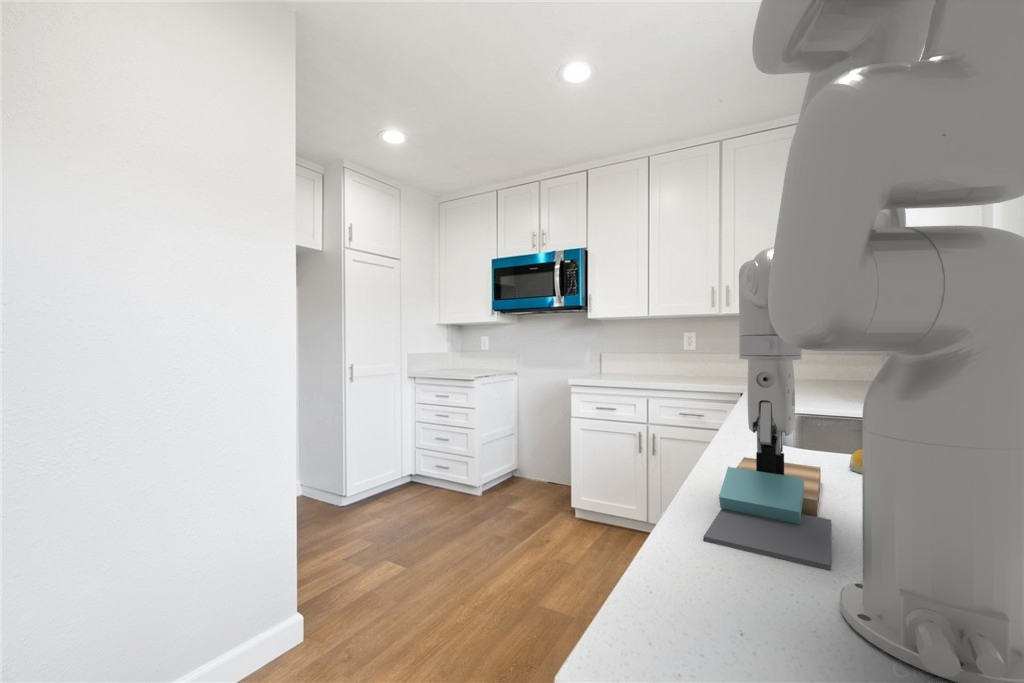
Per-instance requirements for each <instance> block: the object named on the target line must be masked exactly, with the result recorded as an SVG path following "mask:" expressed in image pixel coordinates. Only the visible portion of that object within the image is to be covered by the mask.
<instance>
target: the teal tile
mask: <svg viewBox="0 0 1024 683" xmlns="http://www.w3.org/2000/svg"><path fill="white" fill-rule="evenodd" d="M725 472H726V473H725V476H724V479H723V483H722V484H721V485H722V486H721V488H720V492H719V495H718V499H719V500H718V501H719V507H720V509H727V510H732V511H737V512H742V513H747V514H752V515H757V516H761V517H766V518H771V519H776V520H781V521H786V522H791V523H796V524H800V520H801V512H802V504H803V496H804V478H800V477H793V476H786V475H780V474H773V473H766V472H759V471H753V470H746V469H739V468H736V467H733V466H732V467H731V466H727V469H726V471H725Z"/></svg>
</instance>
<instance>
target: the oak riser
mask: <svg viewBox="0 0 1024 683" xmlns="http://www.w3.org/2000/svg"><path fill="white" fill-rule="evenodd" d="M735 468H739V469H746V470H753V471H756V458H752V457H743V458H742V459H741V461H739V464H738V465H737V466H736V467H735ZM821 474H822V473H821V466H815V465H807V464H797V463H791V462H786V461H784V475H786V476H793V477H800V478H804V496H803V504H802V512H801V514H803V515H809V516H815V517H818V515H819V514H818V513H819V503H820V502H819V501H820V490H821V483H822V482H821V481H822V480H821V477H822V476H821Z"/></svg>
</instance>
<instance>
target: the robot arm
mask: <svg viewBox="0 0 1024 683" xmlns="http://www.w3.org/2000/svg"><path fill="white" fill-rule="evenodd" d="M751 49H752V58H753V62H754V65H755V67H756V68H757V69H758V71H760V72H761V73H763V74H766V75H790V74H806V73H809V75H808V78H807V79H808V80H807V84H806V89H805V92H804V95H803V100H802V104H801V107H800V108H801V109H800V112H799V116H798V119H797V123H796V126H795V131H794V134H793V136H792V140H791V143H790V147H789V152H788V157H787V161H786V167H785V172H784V173H785V174H784V179H783V186H782V192H781V199H780V205H779V212H778V219H777V225H776V232H775V238H774V246H773V247H769V248H765V249H763V250H761V251H760V252H759V253H757V254H756V255H755V256H754V258H753V259H751V260H748V261H745V262H744V263H743V264H742V265H741V266H740V268H739V271H738V320H739V321H738V322H739V323H738V327H739V328H738V329H739V330H738V331H739V332H738V333H739V334H738V335H739V336H738V346H739V347H738V349H739V350H738V351H739V352H738V356H739V357H738V358H739V360H747V421H748V429H749V430H750V431H751V432H752V433H753V434H755V433H756V454H755V459H756V471H759V472H766V473H773V474H780V475H784V462H785V453H784V452H783V451H784V449H783V448H784V441H783V440H784V435H785V436H786V437H789V436H790V435H792V434H793V432H794V430H795V429H796V425H797V424H796V406H795V405H796V397H795V396H796V393H795V386H796V385H795V372H794V368H795V367H794V362H793V361H800V360H801V361H802V360H803V357H802V355H803V354H802V352H803V351H802V350H807V351H813V352H815V351H816V352H889V353H890V354H889V357H887V359H886V361H885V362H884V363H883V365H882V367H880V369H879V370H878V372H877V373H876V375H875V376H874V378H873V379H872V380H871V383H870V385H869V386H868V389H867V392H866V394H865V398H864V401H863V404H862V405H863V407H862V427H861V428H862V431H861V433H862V434H861V435H862V436H861V437H862V438H861V439H862V440H861V441H862V442H861V443H862V444H861V445H862V446H861V447H862V448H861V449H862V474H861V476H862V478H861V479H862V480H861V481H862V484H861V485H862V489H861V490H862V491H861V492H862V493H861V494H862V496H861V497H862V500H861V501H862V504H861V505H862V508H861V509H862V579H861V580H857V581H853V582H851V583H848V584H847V585H845V586H844V587H843V588H842V590H841V591H840V593H839V594H840V596H839V608H840V611H841V614H842V615H843V617H844V618H845V620H846V622H847V623H848V624H849V625H850V626H851V627H852V628H853V629H854V631H856V632H857V633H858V634H859V635H861V636H862V638H864V639H866V641H868V642H870V643H871V644H872V645H874V646H875V647H877V648H879V649H880V650H881V651H883V652H885V653H887V654H889V655H890V656H892V657H895V658H896V659H898V660H900V661H901V662H904V663H906V664H907V665H911V666H913V667H914V668H917V669H919V670H921V671H923V672H926V673H929V674H930V675H931V674H932V675H933V676H937V677H938V678H939V677H940V678H942V679H945V680H948V681H950V682H953V683H1024V236H1022V235H1020V234H1018V233H1014V232H1011V231H1009V230H1005V229H1002V228H1001V229H1000V228H997V227H996V228H995V227H990V226H989V227H988V226H980V225H924V226H923V225H921V226H919V225H918V226H907V217H906V215H907V214H906V210H907V209H909V210H910V209H935V208H936V209H937V208H956V207H957V208H959V207H971V206H973V207H974V206H975V207H976V206H986V205H991V204H992V205H993V204H1000V203H1004V202H1008V201H1012V200H1016V199H1018V198H1020V197H1023V196H1024V0H761V2H760V5H759V9H758V12H757V17H756V20H755V25H754V31H753V35H752V48H751Z"/></svg>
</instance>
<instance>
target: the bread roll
mask: <svg viewBox="0 0 1024 683" xmlns="http://www.w3.org/2000/svg"><path fill="white" fill-rule="evenodd" d="M849 469H850V471H852V472H854V473H856V474H860V475H862V448H861V449H857V450H855V451H854V453H852V454H850V460H849Z"/></svg>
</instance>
